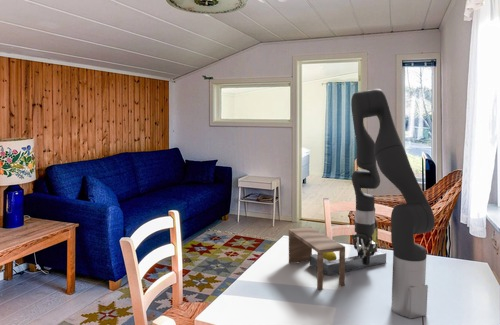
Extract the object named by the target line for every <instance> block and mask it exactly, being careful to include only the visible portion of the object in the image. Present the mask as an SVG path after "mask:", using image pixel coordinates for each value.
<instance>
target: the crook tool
mask: <svg viewBox="0 0 500 325" xmlns="http://www.w3.org/2000/svg"><path fill="white" fill-rule="evenodd" d="M308 262H309V265H310V266H311V267H312V268H314V269H316V270H317V254H316V253H315V254H314V253H312V255H310V261H308ZM386 263H387V252H385V251H383V250H379V251H378V250H377V252H375V253H374V255H373V256H370V263H369V265H364V254H363V255H358V254H357V255H355V256H348V257H345V272H350V271H355V270H358V269H363V268H368V267H372V266H376V265H377V266H378V265H382V264H386ZM337 274H339V258H337V259H336V260H333V261H328V260H326V259H324V258H323V275H326V276H332V275H337Z"/></svg>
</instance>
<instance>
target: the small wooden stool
mask: <svg viewBox="0 0 500 325" xmlns="http://www.w3.org/2000/svg"><path fill="white" fill-rule="evenodd" d="M313 251H315V252H316V253H317V269H316V274H317V275H316V278H317V280H316V289H317V290H318V291H320V290H321V291H322V290H324V287H323V286H324V273H323V253H328V252H334V253H335V252H339V253H338V254H339V257H338V259H339V273H338V285H339V286H340V287H345V279H346V278H345V276H346V274H345V258H346V246H344V245H343V244H341V243H339V242H337V241H336V240H334V239H332V238H331V237H329V236H327V235H326V234H324V233H323V232H320V231H319V230H317V229H315V228H314V227H312V226H306V227H297V228H289V229H288V263H289V264H298V263H297V262H299V263H304V262H310V255H313Z"/></svg>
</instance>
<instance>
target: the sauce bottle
mask: <svg viewBox="0 0 500 325" xmlns="http://www.w3.org/2000/svg"><path fill="white" fill-rule="evenodd" d="M374 213H375V214H376V207H375V206H374ZM378 229H379V225H378V221H377V219H376V218H375V228H374V233H373V234H372V239H373V242H374V243H377V248H376V250H375V252H378V249H379V248H378V247H379V246H378V244H379V243H378V239H379V237H378V236H379V230H378ZM365 248H367V247H365ZM367 252H368V250H367Z"/></svg>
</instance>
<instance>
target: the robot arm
mask: <svg viewBox="0 0 500 325" xmlns="http://www.w3.org/2000/svg"><path fill="white" fill-rule="evenodd" d="M350 106H351V114H352V115H351V116H352V121H353V129H354V136H355V143H356V166H357V167H358V168H360V170H359V169H358V170H354V171H353V173H352V174H351V182H352V186H353V189H354V194H355V211H354V233H355V234H351V238H352V243H353V248H354V249H355V250H356V252H357V256H358V255H363V254H364V265H369V263H370V256H373V255H374V253H375V250H376V248H377V243H374V242H373V239H372V234H373V233H374V228H375V219H376V212H375V213H374V207H375V200H376V198H375V196H374V195H372V194H369V193H365V192H364V191H363V190H362V189H364V190H365V189H369V190H371V189H372V190H376V189H377V188H379V186H380V184H381V178H380V173H379V170H380V172H381V173H382V175H383V176H384V177H385V178H386V179H387V180H388V181H390V182H391V184H393V185H394V187H396V188H397V190H399V192H400V193H401V195H402V197H403V199H404V202H405V203H400V204H397V205H395V206H394V207H393V209H392V211H391V215H390V237H391V238H390V240H391V247H392V280H391V309H392V311H393V312H394V313H396V314H397V315H400V316H403V317H406V318H408V319H414V318H415V319H416V318H420V317H425V316H426V317H427V315H428V314H427V310H428V292H429V290H428V288H429V285H428V284H426V277H427V276H426V273H427V257H428V255H427V252H428V251H427V248H426V247H425V246H423V244H422V245H421V244H419V243H416V242H415V237H414V236H415V235H421V234H427V233H430V232H432V230H433V229H434V228H435V222H436V219H435V216H434V214H435V213H434V212H433V209H432V207H431V205H430V203H429V201H428V199H427V198H426V195H425V193H424V191H423V190H422V188H421V186H420V183H419V182H418V179H417V177H416V175H415V173H414V170H413V168H412V166H411V164H410V161H409V158H408V155H407V152H406V149H405V147H404V145H403V143H402V141H401V139H400V138H401V137H400V136H399V134H398V131H397V128H396V126H395V122H394V120H393V116H392V114H391V113H392V112H391V109H390V106H389V102H388V100H387V97H386V95H385V93H384V91H383V90H382V89H380V88H373V89H369V90H368V89H367V90H362V91H357V92H354V93H353V94H352V97H351V103H350ZM371 117H377V118H378V121H379V122H378V123H379V128H378V134H377V136H376V139H375V140H374V139H373V138H372V136H371V135H370V134H369V132H368V131H367V129H366V128H365V123H364V119H365V118H371ZM378 168H379V170H378ZM365 247H367V248H365ZM367 250H368V252H367Z"/></svg>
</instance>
